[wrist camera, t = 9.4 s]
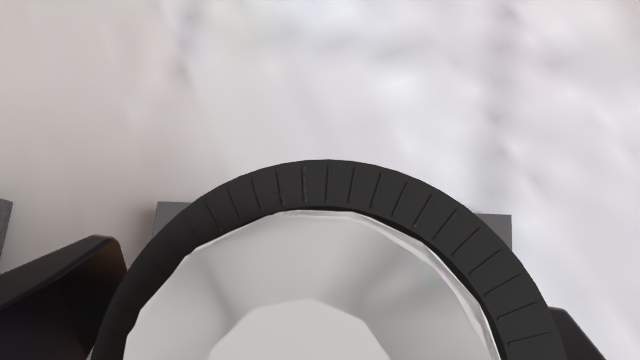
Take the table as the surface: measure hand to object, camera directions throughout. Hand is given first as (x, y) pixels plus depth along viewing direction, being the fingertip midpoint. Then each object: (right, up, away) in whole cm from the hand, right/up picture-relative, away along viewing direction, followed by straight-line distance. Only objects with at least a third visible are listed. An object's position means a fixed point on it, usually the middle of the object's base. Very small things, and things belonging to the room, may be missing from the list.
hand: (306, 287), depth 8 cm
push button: (+1, -3, +6) cm, 7 cm away
